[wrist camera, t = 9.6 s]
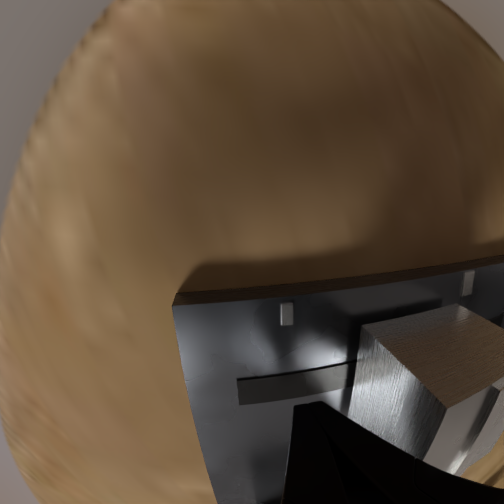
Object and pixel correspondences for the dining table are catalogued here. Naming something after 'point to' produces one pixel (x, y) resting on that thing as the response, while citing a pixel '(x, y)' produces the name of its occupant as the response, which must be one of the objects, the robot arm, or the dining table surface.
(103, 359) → the dining table surface
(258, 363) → the plate
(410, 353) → the fader
